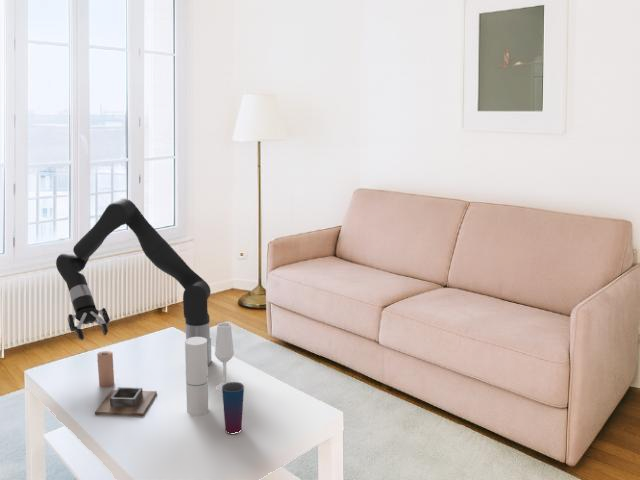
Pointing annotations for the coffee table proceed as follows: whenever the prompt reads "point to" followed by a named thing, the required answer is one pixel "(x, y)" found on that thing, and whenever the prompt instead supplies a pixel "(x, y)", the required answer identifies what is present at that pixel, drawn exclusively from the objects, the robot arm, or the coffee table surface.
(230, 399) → the cup
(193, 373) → the cylindrical container
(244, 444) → the coffee table surface
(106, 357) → the roll
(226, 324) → the champagne flute
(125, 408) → the holder
